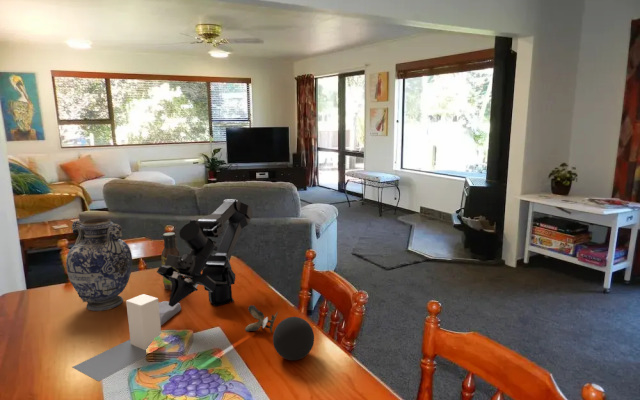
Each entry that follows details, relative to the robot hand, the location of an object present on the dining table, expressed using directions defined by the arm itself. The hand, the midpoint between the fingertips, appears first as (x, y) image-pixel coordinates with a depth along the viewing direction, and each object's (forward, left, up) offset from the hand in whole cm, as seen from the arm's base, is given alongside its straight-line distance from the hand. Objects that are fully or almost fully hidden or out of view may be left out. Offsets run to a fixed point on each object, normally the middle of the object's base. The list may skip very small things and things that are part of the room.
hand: (170, 305), depth 113 cm
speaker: (-22, +30, -8) cm, 38 cm away
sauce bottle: (-9, -35, -8) cm, 37 cm away
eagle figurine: (-20, +12, -8) cm, 25 cm away
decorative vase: (+13, -33, -8) cm, 36 cm away
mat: (+12, +5, -8) cm, 15 cm away
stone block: (+2, -12, -8) cm, 15 cm away
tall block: (+7, +3, -7) cm, 11 cm away
